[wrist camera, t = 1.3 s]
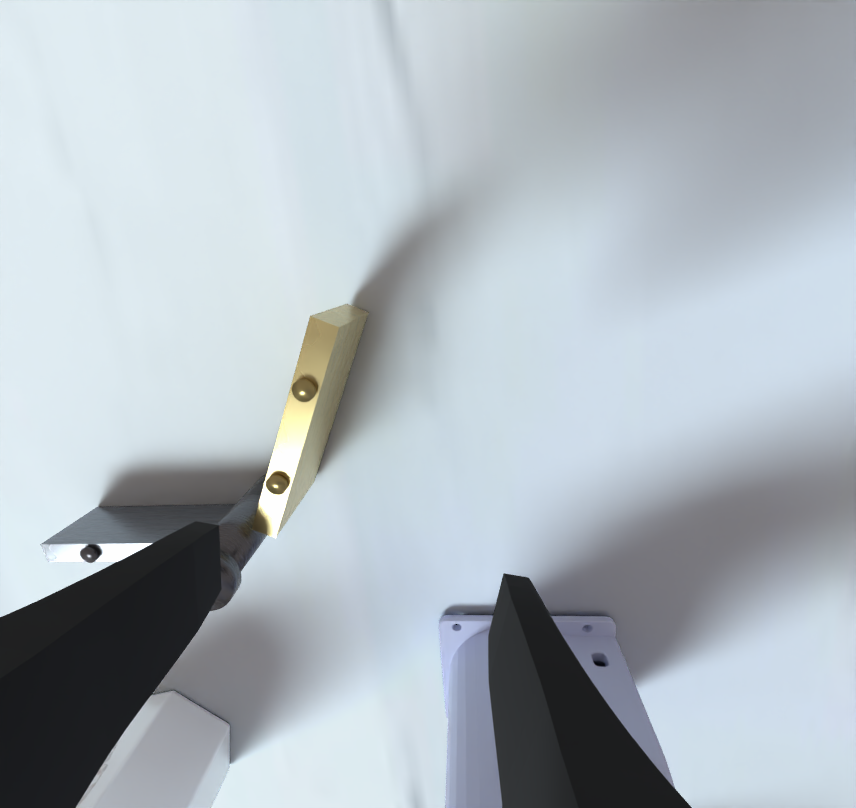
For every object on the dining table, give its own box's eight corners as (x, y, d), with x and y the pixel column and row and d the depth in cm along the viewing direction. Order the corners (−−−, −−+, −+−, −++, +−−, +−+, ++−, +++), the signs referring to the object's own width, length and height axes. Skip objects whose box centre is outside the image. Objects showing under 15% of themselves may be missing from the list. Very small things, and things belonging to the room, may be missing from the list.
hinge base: (295, 467, 21) (223, 553, 14) (305, 519, 22) (242, 621, 15) (84, 473, 22) (-67, 556, 16) (102, 522, 23) (-33, 618, 17)
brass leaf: (314, 481, 21) (273, 541, 16) (295, 474, 20) (249, 532, 16) (368, 312, 18) (337, 328, 13) (347, 304, 18) (308, 316, 13)
